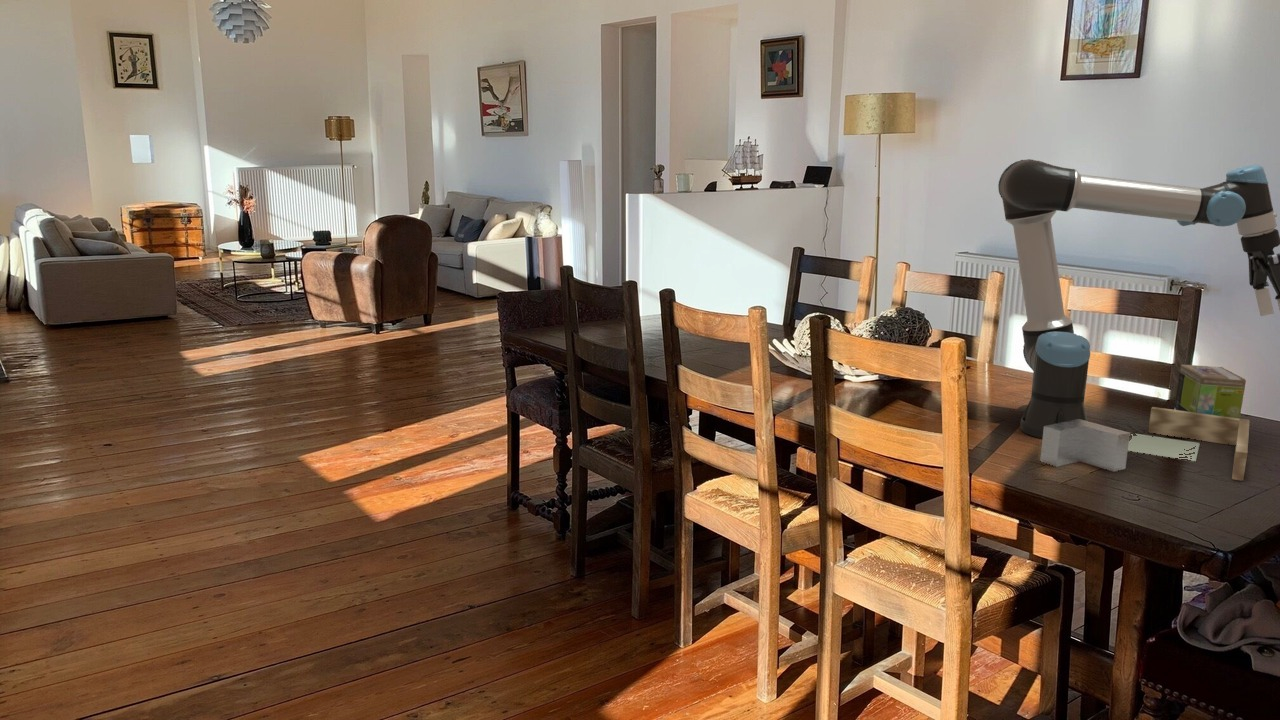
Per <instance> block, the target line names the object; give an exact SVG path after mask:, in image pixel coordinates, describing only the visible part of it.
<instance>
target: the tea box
mask: <svg viewBox="0 0 1280 720" xmlns="http://www.w3.org/2000/svg"><path fill="white" fill-rule="evenodd" d="M1246 381H1247V380H1246V378H1244V377H1242V376H1240V375H1238V374H1236V373H1234V372H1232V371H1230V370H1229V369H1227V368H1225V367H1223V366H1213V365H1211V366H1208V365H1195V364H1180V368H1179V373H1178V381H1177V388H1176V395H1175V401H1174V409H1173V410H1180V411H1187V412H1195V413H1202V414H1209V415H1217V416H1224V417H1232V418H1239V419H1241V414H1242V413H1241V412H1242V406H1243V400H1244V394H1245V389H1246V383H1247V382H1246Z"/></svg>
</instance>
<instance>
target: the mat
mask: <svg viewBox="0 0 1280 720" xmlns="http://www.w3.org/2000/svg"><path fill="white" fill-rule="evenodd" d="M1135 434H1136V435H1137V436H1133V434H1131V435H1132V439H1131V440H1130V441H1129V444H1128V452H1130V451H1132V452H1131V453H1137V452H1138V453H1137V454H1143V453H1145V454H1144V455H1149V454H1151V456H1156V455H1157V457H1162V456H1163V458H1168V457H1170V459H1175V458H1178V459H1177V460H1181V459H1188V460H1191V461H1190V462H1194V461H1195V463H1196V461H1197V457H1198V454H1199V449H1200V442H1195V441H1189V440H1188V441H1187V440H1183V439H1182V440H1181V439H1175V438H1168V437H1163V436H1162V437H1160V436H1154V435H1147V434H1143V433H1142V434H1140V433H1135ZM1152 436H1153V437H1152ZM1195 446H1196V447H1195ZM1193 447H1195V449H1192V450H1189V449H1191V448H1193ZM1184 449H1185V450H1184ZM1186 450H1189V451H1186ZM1193 452H1195V454H1191V455H1185V454H1189V453H1193ZM1184 453H1185V454H1184ZM1179 454H1183V455H1179ZM1185 456H1187V457H1188V458H1179V457H1185ZM1190 456H1192V457H1190ZM1190 458H1192V459H1190Z"/></svg>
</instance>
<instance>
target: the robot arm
mask: <svg viewBox="0 0 1280 720" xmlns="http://www.w3.org/2000/svg"><path fill="white" fill-rule="evenodd" d="M1225 175H1226V177H1225V178H1226V179H1225V181H1223V182H1220V183H1217V184H1214V185H1210V186H1207V187H1203V188H1200V187H1191V186H1185V185H1184V186H1183V185H1175V184H1167V183H1157V182H1150V181H1140V180H1132V179H1122V178H1115V177H1114V178H1113V177H1106V176H1099V175H1088V174H1082V173H1081V174H1080V172H1078V171H1077V169H1075V168H1068V167H1062V166H1057V165H1053V164H1050V163H1046V162H1044V161H1040V160H1034V159H1020V160H1017V161H1015V162H1013V163H1011V164H1009V165H1008V166H1007V167H1006V168H1005V169H1004V170H1003V172H1002V173H1001V175H1000V177H999V180H998V185H997V186H998V194H999V196H1000V198H1001V199H1002V204H1003V211H1004V212H1003V213H1004V217H1005V221H1006V222H1007V223H1008V224H1010V225H1011V226H1012V228H1013V232H1014V234H1013V235H1014V239H1015V246H1016V252H1017V253H1016V254H1017V259H1018V266H1019V273H1020V280H1021V287H1022V292H1023V293H1022V294H1023V300H1024V306H1025V313H1026V322H1025V323H1024V324H1023V325H1022V326H1021V329H1022V330H1021V331H1022V337H1023V343H1024V344H1023V349H1022V350H1023V358H1024V361H1025V362H1026V364H1027V366H1028V367H1029V368H1030V369H1031V370H1032V372H1033V374H1032V375H1033V376H1032V385H1031V393H1030V394H1031V396H1030V398H1029V399H1030V400H1029V401H1028V404H1027V406H1026V408H1025V410H1024V412H1023V415H1022V416H1021V419H1020V426H1019V429H1020V431H1022V432H1023V433H1024V434H1027V435H1029V436H1032V437H1035V438H1040V439H1043V430H1044V426H1047V425H1052V424H1057V423H1062V422H1067V421H1072V420H1077V419H1081V420H1085V421H1088V418H1087V417H1088V416H1087V412H1086V407H1085V396H1086V389H1087V388H1086V387H1087V380H1088V370H1089V362H1090V358H1091V344H1090V342H1089V340H1088V338H1086V337H1084V336H1082V335H1080V334H1079V335H1078V334H1077V333H1075V332H1074V326H1073V320H1072V319H1070V318H1069V317H1068V316H1067V315H1066V314H1065V307H1064V302H1063V297H1062V296H1063V295H1062V289H1061V282H1060V275H1059V268H1058V260H1057V254H1056V247H1055V239H1054V233H1053V232H1054V231H1053V225H1052V218H1053V216H1054V215H1055V214H1056V213H1057V211H1059V212H1069V211H1071V209H1081V210H1089V211H1098V212H1106V213H1115V214H1124V215H1132V216H1139V217H1149V218H1155V219H1166V220H1167V219H1168V220H1173V221H1176V222H1177V224H1179V225H1180V226H1182V227H1187V226H1190V225H1196V224H1204V225H1205V224H1206V225H1213V226H1217V227H1230V226H1232V225H1235V224H1236V227H1237V231H1238V234H1239V236H1241V237H1240V243H1241V246H1242V250H1243V252H1244V253H1246V254H1247V260H1248V279H1249V280H1248V283H1249V285H1250V287H1252V288H1253V289H1254V293H1255V297H1256V302H1257V306H1258V310H1259V315H1260V317H1264V316H1265V317H1266V316H1268V315H1272V314H1275V311H1274V307H1273V302H1272V298H1271V294H1270V293H1271V292H1270V289H1269V286H1270V285H1269V282H1270V284H1271V285H1272V287H1273V289H1274V291H1275V294H1276V295H1275V297H1274V298H1275V300H1276V301H1277V306H1278V310H1279V312H1280V252H1279V253H1276V254H1275V251H1274V248H1277V247H1279V246H1280V233H1279V229H1277V228H1276V227H1277V226H1278V225H1277V224H1278V223H1277V220H1276V217H1278V214H1277V213H1276V212H1274V208H1273V204H1272V197H1271V192H1270V188H1269V181H1268V178H1267V175H1266V173H1265V170H1264V167H1263V166H1262V165H1260V164H1252V165H1246V166H1243V167H1242V166H1241V167H1238V168H1235V169H1232V170H1230V171H1229V170H1228V172H1227V173H1226V174H1225ZM1267 279H1268V280H1269V282H1268V280H1267Z"/></svg>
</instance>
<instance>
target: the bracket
mask: <svg viewBox="0 0 1280 720" xmlns="http://www.w3.org/2000/svg"><path fill="white" fill-rule="evenodd" d="M1130 433H1131V432H1128V431H1125V430H1121V429H1117V428H1114V427H1110V426H1107V425H1103V424H1099V423H1096V422H1093V421H1092V422H1091V421H1088V420H1087V421H1085V420H1081V419H1077V420H1072V421H1067V422H1062V423H1057V424H1052V425H1047V426H1044V430H1043V438H1041V439H1042V441H1041V450H1040V458H1039V462H1040V461H1041V462H1040V463H1043V462H1044V463H1043V464H1046V463H1047V464H1046V465H1049V464H1050V466H1052V465H1053V467H1055V466H1056V467H1055V468H1057V467H1062V466H1065V465H1070V463H1071V464H1074V463H1078V462H1081V463H1084V464H1086V465H1087V464H1088V465H1091V466H1094V467H1097V468H1101V469H1102V470H1103V469H1104V470H1106V469H1107V470H1106V471H1110V472H1119V471H1123V470H1126V465H1127V461H1128V459H1127V458H1128V452H1129V451H1128V444H1129V436H1130ZM1118 470H1119V471H1118Z"/></svg>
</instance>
